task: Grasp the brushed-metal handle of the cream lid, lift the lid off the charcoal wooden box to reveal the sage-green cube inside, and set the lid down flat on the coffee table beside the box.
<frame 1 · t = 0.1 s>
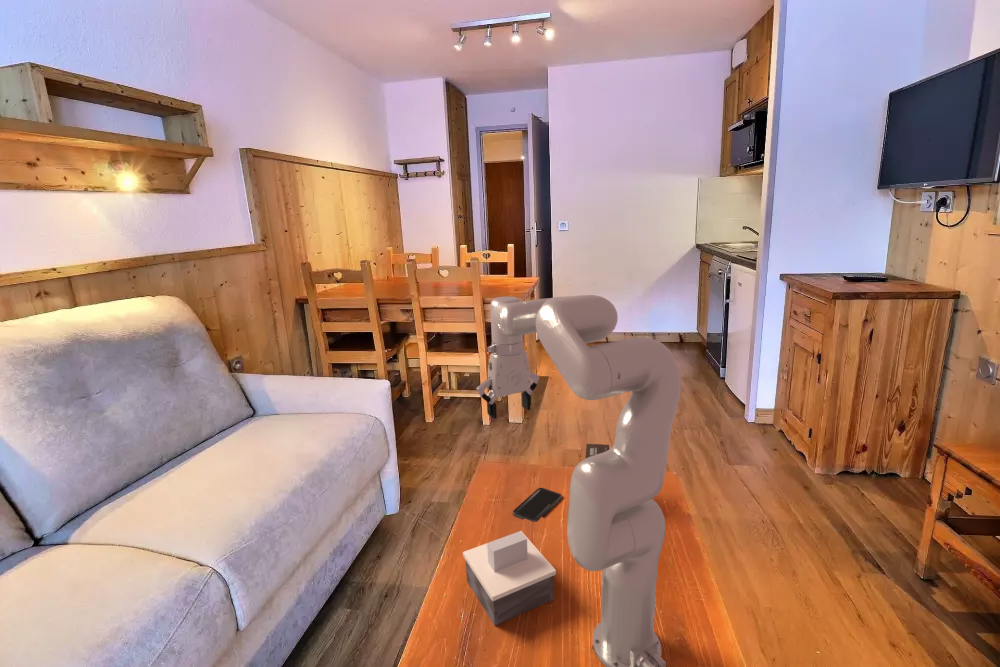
hand: (509, 412, 124), 31 cm above the table, fingers open, 9 cm apart
box: (509, 591, 108), on the table
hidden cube: (509, 589, 108), point 1 cm above the table, touching box
lid: (508, 564, 106), point 7 cm above the table, touching box
phone: (538, 507, 138), on the table
coffee box: (596, 503, 139), on the table
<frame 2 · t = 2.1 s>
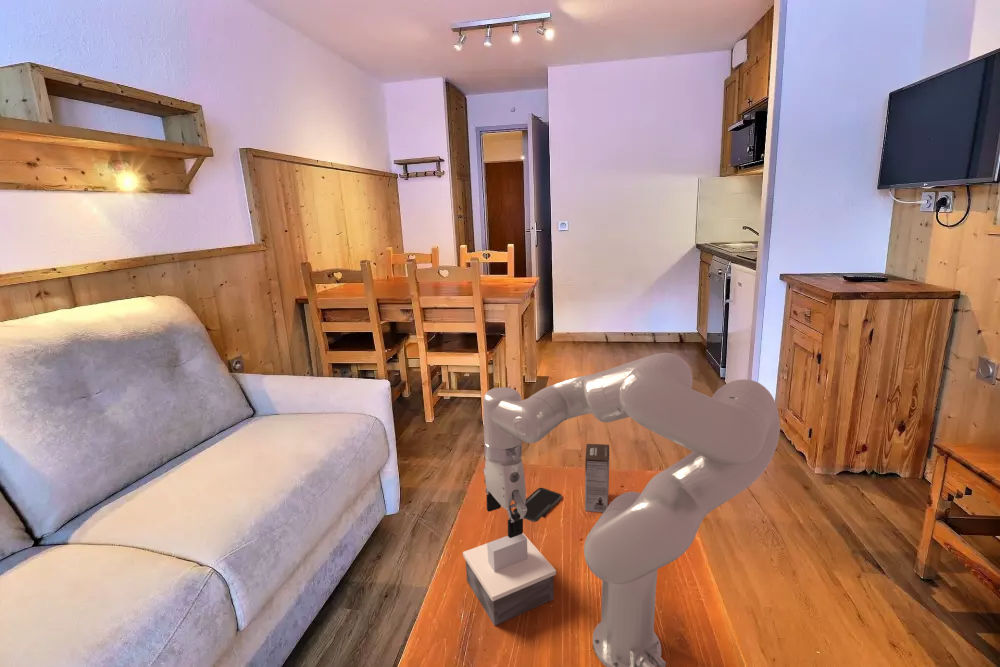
hand: (504, 521, 104), 17 cm above the table, fingers open, 9 cm apart
nothing on the table moved.
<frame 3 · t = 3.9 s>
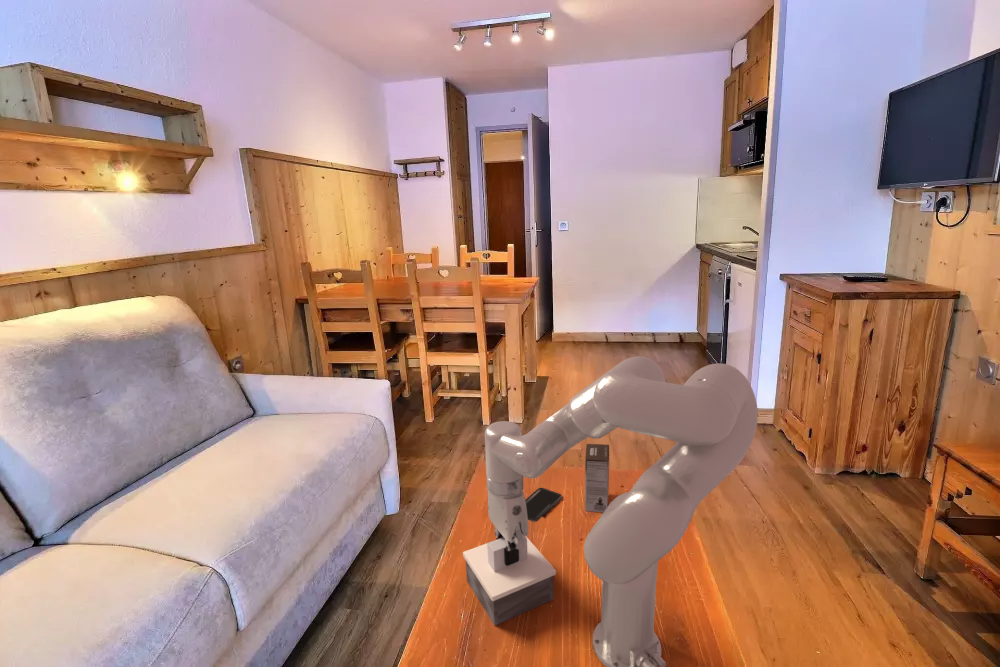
hand: (507, 557, 106), 9 cm above the table, fingers closed on lid, 3 cm apart
lid: (508, 564, 106), point 7 cm above the table, touching box, gripper
everything else where it was.
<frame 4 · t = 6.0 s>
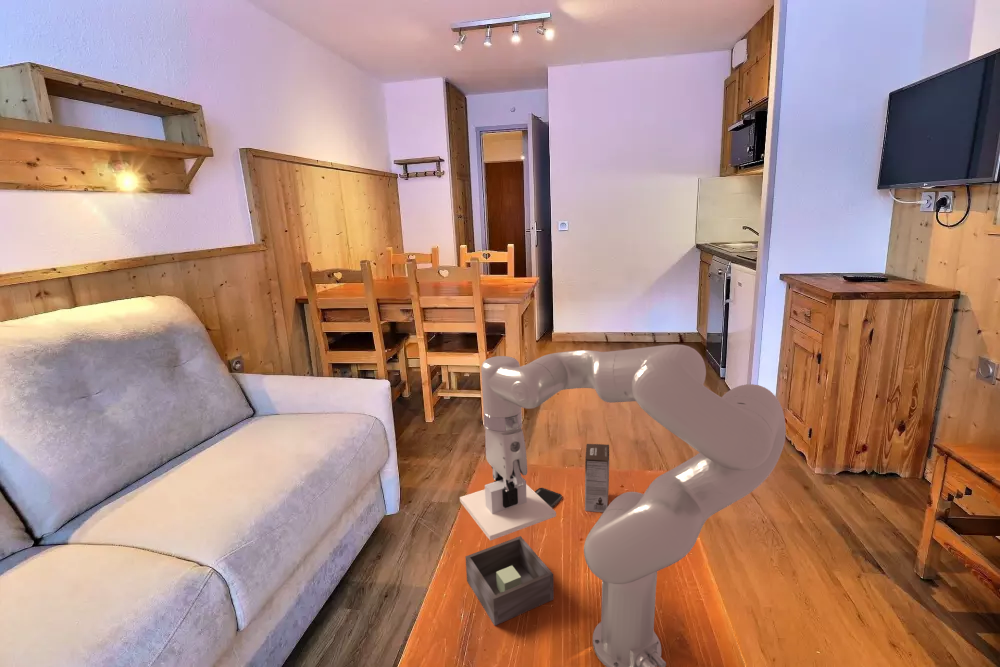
hand: (506, 500, 102), 23 cm above the table, fingers closed on lid, 3 cm apart
lid: (506, 508, 102), point 21 cm above the table, touching gripper
everything else where it was.
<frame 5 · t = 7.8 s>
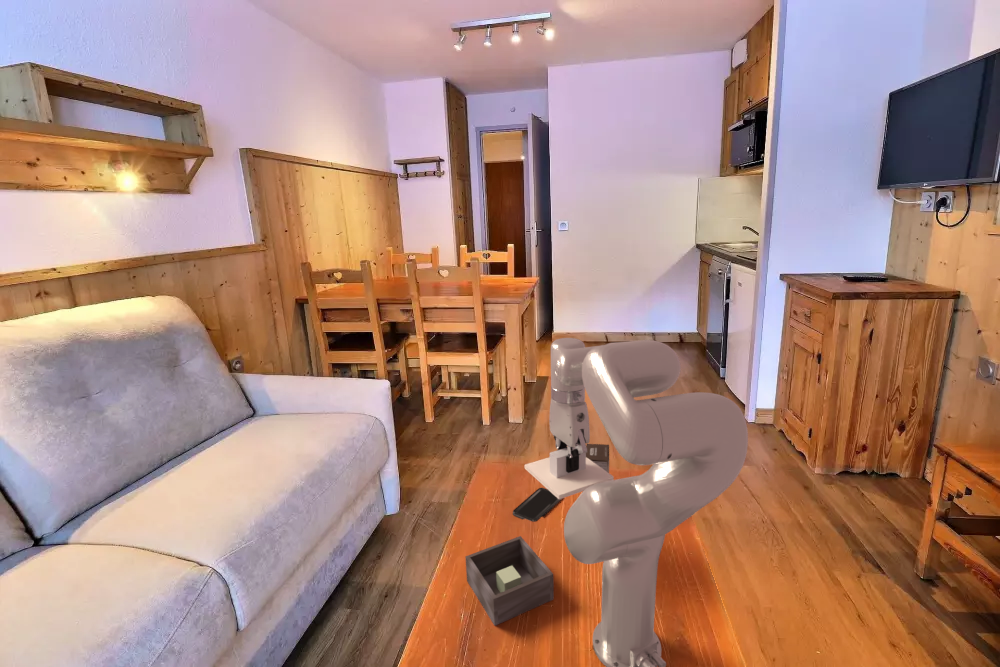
hand: (567, 466, 115), 23 cm above the table, fingers closed on lid, 3 cm apart
lid: (567, 474, 115), point 21 cm above the table, touching gripper
everything else where it was.
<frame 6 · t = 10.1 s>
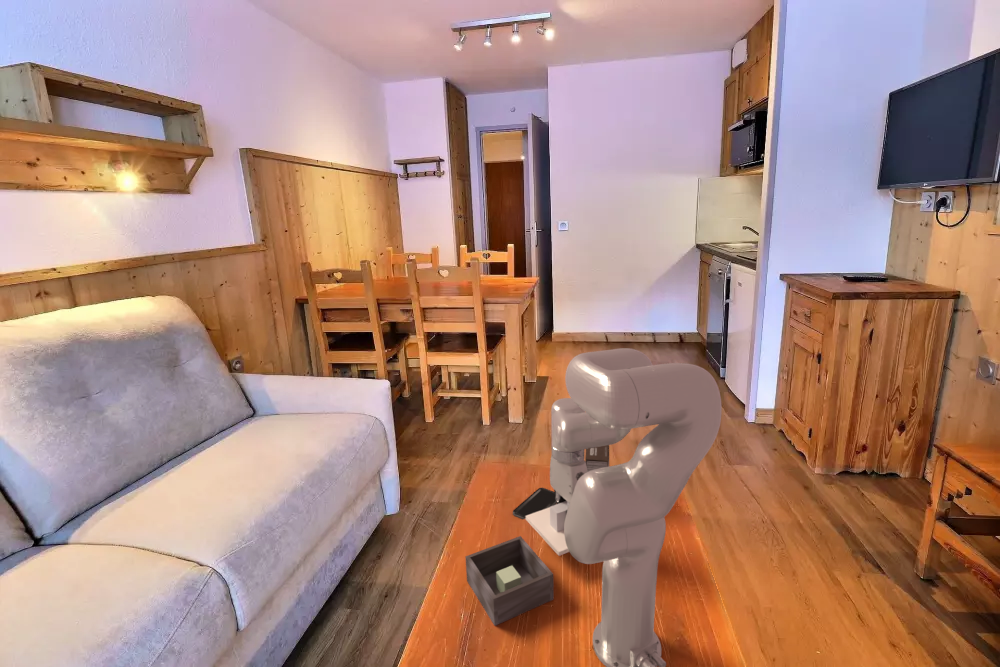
hand: (567, 519, 119), 8 cm above the table, fingers closed on lid, 3 cm apart
lid: (567, 526, 119), point 6 cm above the table, touching gripper
everything else where it was.
when the fingers open (4 cm above the table, at t = 11.7 s): lid drops 3 cm, on the table.
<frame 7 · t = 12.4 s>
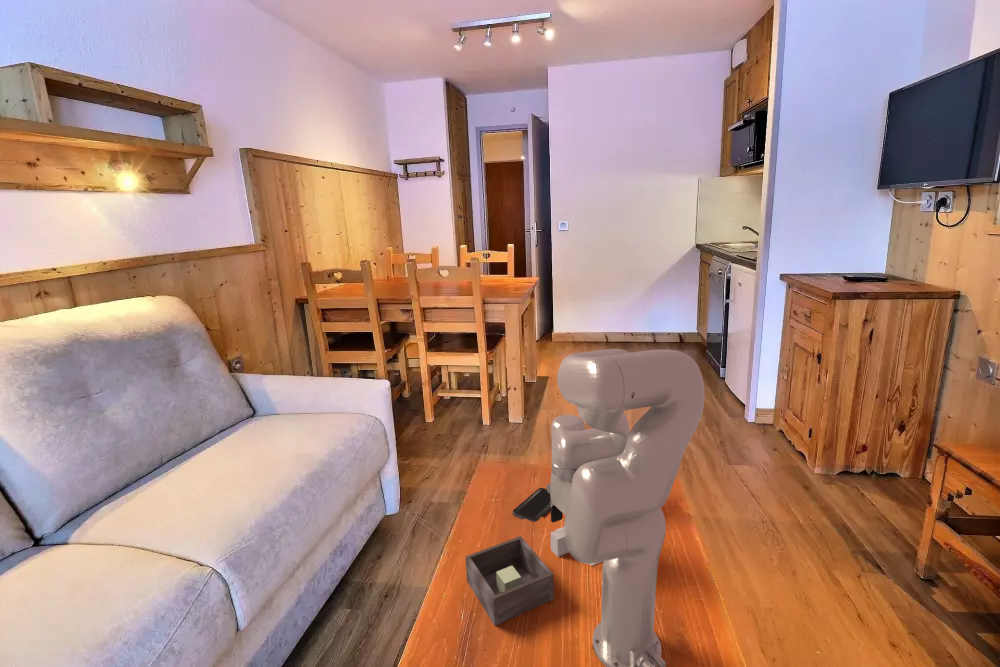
hand: (568, 531, 119), 5 cm above the table, fingers open, 9 cm apart
lid: (568, 551, 120), on the table
everything else where it was.
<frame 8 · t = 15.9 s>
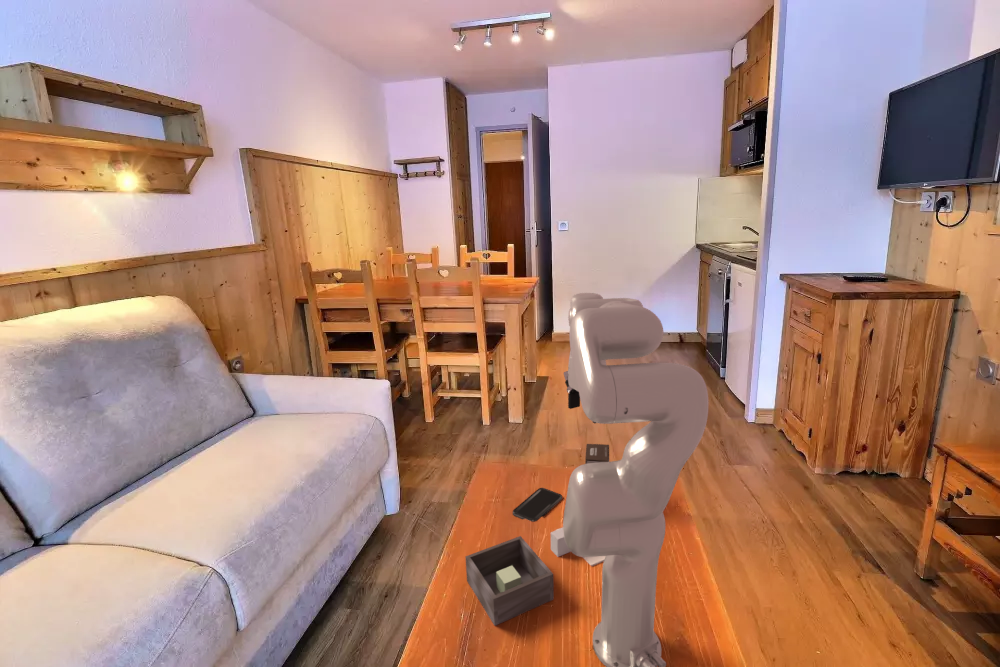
hand: (585, 414, 119), 32 cm above the table, fingers open, 9 cm apart
nothing on the table moved.
at the end: lid inside the target area on the table beside the box (0.1 cm from its centre), on the table; lid tilted 0°; the gripper is holding nothing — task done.
